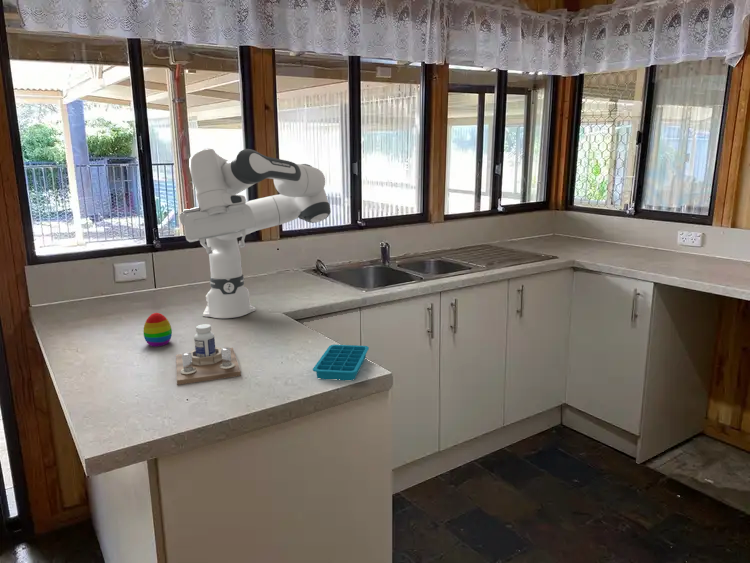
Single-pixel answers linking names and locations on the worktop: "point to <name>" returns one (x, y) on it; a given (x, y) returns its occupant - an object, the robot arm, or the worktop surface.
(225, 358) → the steel pins
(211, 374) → the board
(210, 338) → the pill bottle
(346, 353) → the ice cube tray
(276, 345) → the worktop surface
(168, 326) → the decorative egg
